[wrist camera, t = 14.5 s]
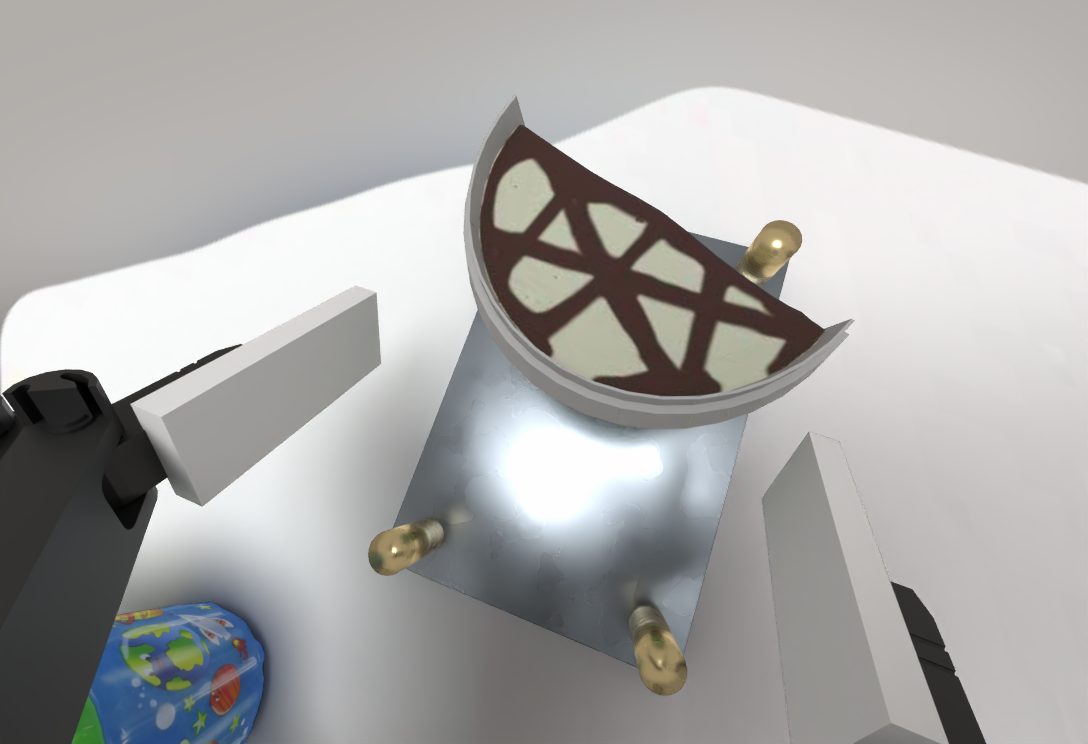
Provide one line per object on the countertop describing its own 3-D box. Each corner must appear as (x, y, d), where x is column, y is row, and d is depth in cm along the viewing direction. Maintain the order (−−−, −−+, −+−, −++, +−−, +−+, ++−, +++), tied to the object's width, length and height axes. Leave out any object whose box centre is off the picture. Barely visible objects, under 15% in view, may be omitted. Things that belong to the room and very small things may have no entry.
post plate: (777, 270, 23) (834, 211, 17) (669, 667, 20) (699, 744, 14) (528, 206, 25) (511, 136, 20) (395, 551, 22) (331, 581, 16)
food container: (461, 333, 22) (360, 233, 13) (539, 246, 23) (501, 85, 13) (654, 498, 20) (718, 534, 10) (737, 395, 20) (875, 333, 10)
